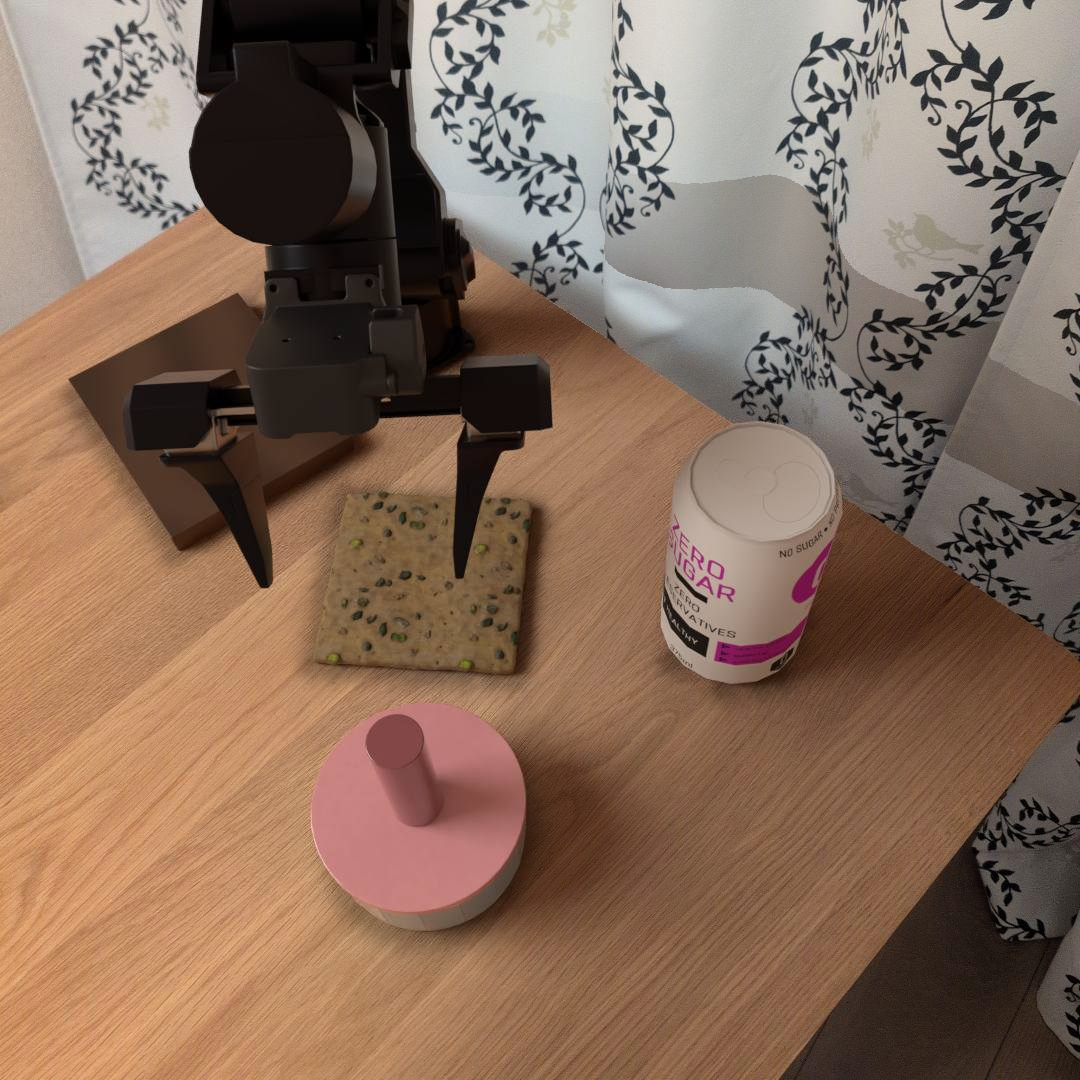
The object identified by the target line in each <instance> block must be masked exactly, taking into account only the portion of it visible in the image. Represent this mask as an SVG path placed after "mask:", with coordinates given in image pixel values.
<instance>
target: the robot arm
mask: <svg viewBox="0 0 1080 1080" xmlns="http://www.w3.org/2000/svg"><path fill="white" fill-rule="evenodd" d="M414 17H415V0H202V2H201V14H200V24H199V37H198V48H197V55H196V56H197V57H196V67H195V68H196V69H195V85H196V89H197V91H198V93H199V95H201V96H204V97H206V98H209V99H210V100H209V101H208V102H207V104H206V105H205V106H204V108H203V109H202V110H201V113H199V114H200V115H199V117H198V119H197V121H196V124H195V125H194V128H193V133H192V138H191V143H190V147H189V149H188V164H189V165H188V166H189V171H190V174H191V177H192V181H193V182H192V183H193V186H194V189H195V191H196V193H197V194H198V196H199V198H200V200H201V202H202V204H203V205H204V207H205V209H206V210H207V211H208V212H209V213H210V214H211V215H212V217H213V218H214V219H215V221H216V222H217V223H219V224H220V225H221V226H223V227H224V228H225V229H226V230H228V231H229V232H231V233H232V234H234V235H235V236H237V237H240V238H242V239H244V240H246V241H249V242H251V243H256V244H261V245H264V253H265V254H264V255H265V263H266V270H264V271H263V275H264V276H263V277H264V286H263V290H264V291H263V292H264V298H265V306H264V311H263V315H262V320H261V322H262V324H260V325H259V327H258V329H257V331H256V333H255V336H254V338H253V340H252V343H251V345H250V347H249V350H248V352H247V354H246V356H245V359H244V364H245V369H246V373H247V378H248V382H249V385H242V383H241V381H240V379H239V376H238V374H237V372H236V369H226V370H207V371H187V372H168V373H163V374H160V375H158V376H155V377H153V378H150V379H148V380H145V381H142V382H140V383H137V384H135V385H133V386H132V388H131V389H130V391H129V392H128V393H127V395H126V396H125V398H124V403H123V409H122V418H123V425H124V432H125V438H126V445H127V449H129V450H134V451H142V450H162V449H164V450H165V453H163V454H161V455H160V456H159V460H160V462H161V463H162V465H163V466H164V467H169V468H171V467H178V468H182V469H183V470H185V471H186V472H187V473H188V474H189V475H191V476H192V477H193V478H194V479H195V480H196V481H198V482H199V483H200V484H201V485H202V486H203V487H204V489H205V490H206V491H207V493H208V494H209V496H210V497H211V499H212V500H213V502H214V503H215V504H216V506H217V507H218V509H219V511H220V512H221V514H222V516H223V517H224V519H225V521H226V525H227V527H229V528H228V529H229V530H230V532H231V534H232V537H233V538H234V541H235V542H236V544H237V547H238V548H239V550H240V552H241V554H242V556H243V557H244V560H245V562H246V563H247V565H248V567H249V569H250V571H251V573H252V575H253V577H254V579H255V581H256V583H257V585H258V587H259V588H260V589H264V590H265V589H270V587H271V586H272V585H273V583H274V564H273V563H274V558H273V557H274V556H273V546H272V539H271V534H270V528H269V527H270V526H269V519H268V513H267V508H266V501H264V494H263V488H262V482H261V475H260V469H259V462H258V456H257V450H256V444H255V437H254V432H237V429H238V428H239V426H244V425H258V428H259V432H260V433H261V434H262V435H263V436H265V437H268V438H272V439H289V438H291V437H292V436H293V435H294V434H302V433H322V432H336V433H338V434H339V435H341V436H350V435H352V436H357V435H363V434H365V433H368V432H370V431H371V430H373V429H375V427H377V426H378V425H379V421H380V420H381V419H382V420H383V419H399V418H400V419H401V418H403V419H404V418H419V417H440V416H442V417H443V416H459V415H460V419H461V424H462V423H464V424H463V426H462V430H461V431H460V435H459V436H458V440H457V442H456V482H455V483H456V484H455V485H456V487H455V497H456V499H455V517H454V535H453V561H454V572H455V578H456V579H463V578H464V574H465V570H466V566H467V562H468V557H469V553H470V549H471V545H472V540H473V536H474V532H475V528H476V523H477V519H478V515H479V511H480V507H481V503H482V500H483V498H485V495H486V494H485V493H486V491H487V488H488V486H489V483H490V481H491V479H492V476H493V473H494V471H495V468H496V466H497V464H498V462H499V459H500V457H501V455H502V453H504V452H510V451H517V450H521V449H523V448H524V447H525V443H526V432H536V431H537V432H538V431H544V430H549V429H553V428H554V424H553V407H552V405H553V403H552V385H551V384H552V383H551V381H552V380H551V366H550V364H549V363H548V362H547V361H546V360H545V359H544V358H543V357H542V356H541V355H539V353H521V354H520V353H519V354H502V355H501V354H500V355H482V356H466V355H467V354H470V353H471V352H473V351H474V350H475V349H476V348H477V343H476V339H475V338H474V337H473V335H471V334H470V333H469V331H468V330H466V328H465V327H464V326H463V323H462V315H461V307H460V301H466V292H468V286H469V284H470V283H472V282H473V281H474V280H476V278H477V271H476V261H475V254H474V249H473V247H472V245H471V242H470V241H469V240H468V237H467V235H466V234H465V232H464V223H463V220H462V219H460V218H458V217H449V216H448V205H447V204H448V203H447V194H446V191H445V189H444V187H443V185H442V184H441V182H440V181H439V180H438V179H439V178H437V176H436V175H435V173H434V172H433V169H432V168H431V167H430V166H429V165H428V162H427V161H426V160H425V158H424V157H423V155H422V154H421V152H420V151H419V149H418V144H417V132H416V121H415V120H416V119H415V108H414V107H415V106H414V95H413V82H412V69H413V46H414V45H413V44H414V42H413V41H414V20H415V18H414ZM464 356H466V357H465V359H464V360H463V363H462V364H461V366H460V368H459V373H457V374H439V375H432V374H434V373H435V372H437V371H439V370H441V369H443V368H445V367H446V366H448V365H450V364H451V363H453V362H455V361H457V360H458V359H461V358H462V357H464ZM385 399H388V400H385Z"/></svg>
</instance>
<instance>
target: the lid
mask: <svg viewBox="0 0 1080 1080" xmlns="http://www.w3.org/2000/svg"><path fill="white" fill-rule="evenodd" d="M309 813H310V816H309V817H310V829H311V834H312V839H313V843H314V846H315V849H316V851H317V854H318V856H319V858H320V861H321V862H322V864H323V866H324V867H325V869H326V870H327V871H328V873H329V875H330V876H331V877H332V878H333V880H334V881H335V882H336V883H337V884H338V885H339V887H341V888H342V889H343V890H344V891H345V892H346V893H348V894H349V895H350V896H351V895H352V896H353V897H354V898H356V899H357V900H359V901H361V902H363V903H365V904H366V905H368V906H371V907H374V908H376V909H379V910H382V911H386V912H390V913H395V914H405V915H419V914H428V913H434V912H439V911H442V910H446V909H449V908H452V907H454V906H457V905H459V904H461V903H463V902H465V901H467V900H469V899H470V898H472V897H474V896H475V895H477V894H478V893H480V892H481V891H482V890H483V889H485V888H486V887H487V886H488V885H489V884H491V883H492V882H493V881H494V879H495V878H496V877H497V876H498V875H499V874H500V873H501V872H502V870H503V869H504V868H505V866H506V865H507V864H508V862H509V861H510V859H511V857H512V855H513V854H514V852H515V850H516V848H517V846H518V843H519V840H520V838H521V835H522V831H523V827H524V823H525V820H526V817H527V790H526V784H525V779H524V774H523V772H522V768H521V765H520V762H519V760H518V758H517V755H516V753H515V752H514V750H513V749H512V747H511V746H510V744H509V743H508V741H507V740H506V738H504V737H503V735H501V733H500V732H499V731H498V730H497V729H496V728H495V727H494V726H492V725H491V724H490V723H489V722H488V721H486V720H485V719H484V718H481V717H480V716H478V715H477V714H474V713H472V712H470V711H468V710H467V709H463V708H460V707H458V706H454V705H451V704H450V705H449V704H445V703H439V702H412V703H407V704H401V705H397V706H394V707H390V708H387V709H384V710H382V711H379V712H378V713H374V714H373V715H372V716H370V717H368V718H366V719H365V720H362V721H361V722H360V723H359V724H357V725H356V726H354V727H353V728H351V730H349V731H348V732H347V733H346V735H344V736H343V737H342V738H341V739H340V740H339V742H337V744H336V745H335V746H334V747H333V749H332V750H331V752H330V753H329V754H328V756H327V758H326V759H325V761H324V762H323V764H322V767H321V768H320V770H319V772H318V775H317V778H316V781H315V783H314V787H313V790H312V795H311V801H310V812H309ZM352 896H351V897H352ZM353 897H352V898H353ZM354 898H353V899H354Z"/></svg>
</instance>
